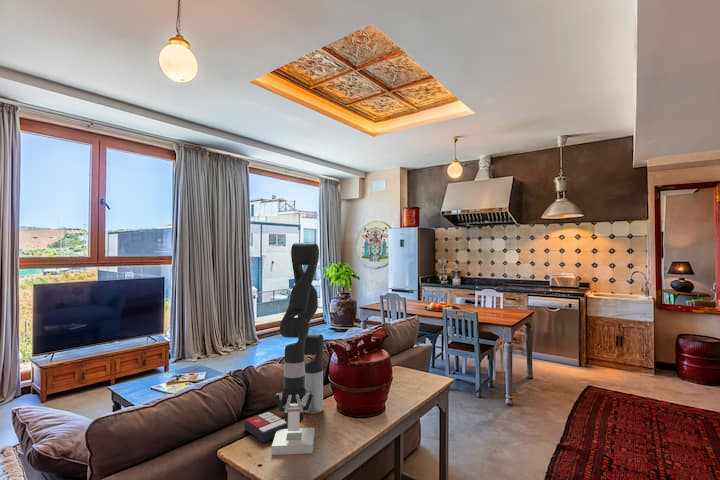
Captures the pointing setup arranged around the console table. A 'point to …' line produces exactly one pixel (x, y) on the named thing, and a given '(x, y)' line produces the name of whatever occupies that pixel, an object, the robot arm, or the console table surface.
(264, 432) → the dark grey product box
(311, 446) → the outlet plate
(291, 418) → the white rectangular block
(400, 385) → the console table surface
